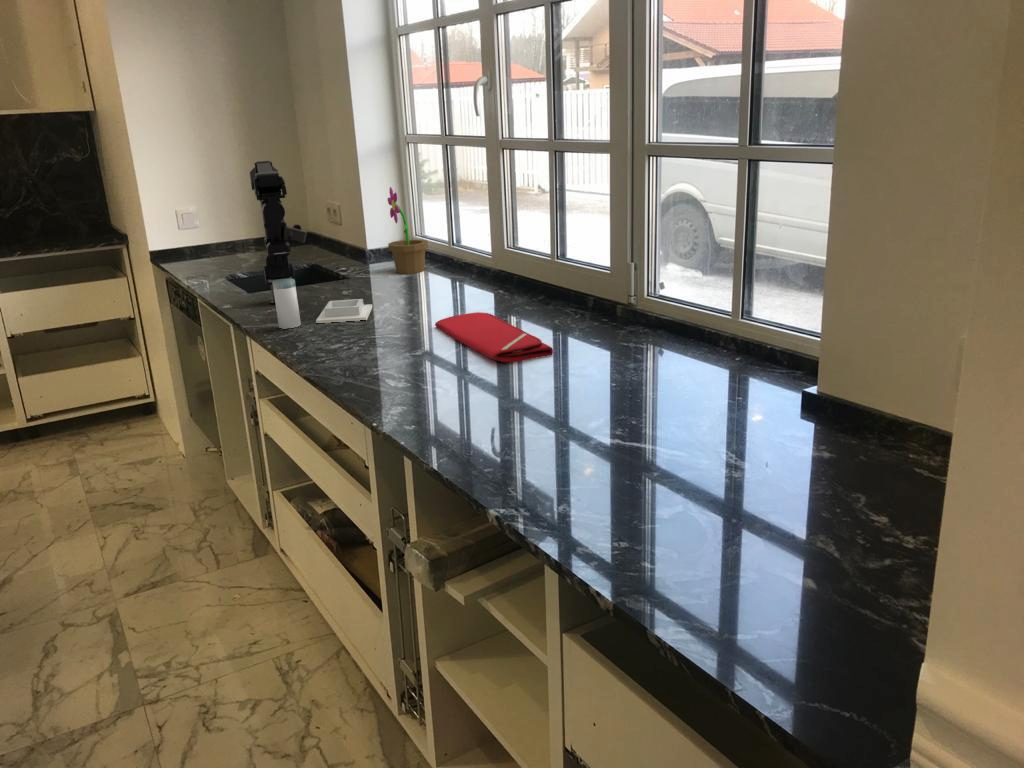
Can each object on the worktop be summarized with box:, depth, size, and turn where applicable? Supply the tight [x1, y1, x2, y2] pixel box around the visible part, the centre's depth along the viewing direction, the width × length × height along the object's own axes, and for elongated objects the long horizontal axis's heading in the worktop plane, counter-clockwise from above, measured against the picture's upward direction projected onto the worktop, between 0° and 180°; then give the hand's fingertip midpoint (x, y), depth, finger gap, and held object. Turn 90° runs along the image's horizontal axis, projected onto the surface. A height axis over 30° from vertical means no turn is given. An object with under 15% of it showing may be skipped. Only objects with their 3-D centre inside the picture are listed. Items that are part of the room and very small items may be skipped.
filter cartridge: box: [272, 279, 302, 330], centre depth 235 cm, size 6×6×13 cm
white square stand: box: [315, 298, 373, 324], centre depth 245 cm, size 16×14×4 cm
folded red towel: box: [434, 311, 554, 364], centre depth 212 cm, size 16×41×4 cm, turn 24°
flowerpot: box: [387, 186, 429, 275], centre depth 300 cm, size 14×14×30 cm
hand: (281, 273), depth 243 cm, fingers open, 9 cm apart
